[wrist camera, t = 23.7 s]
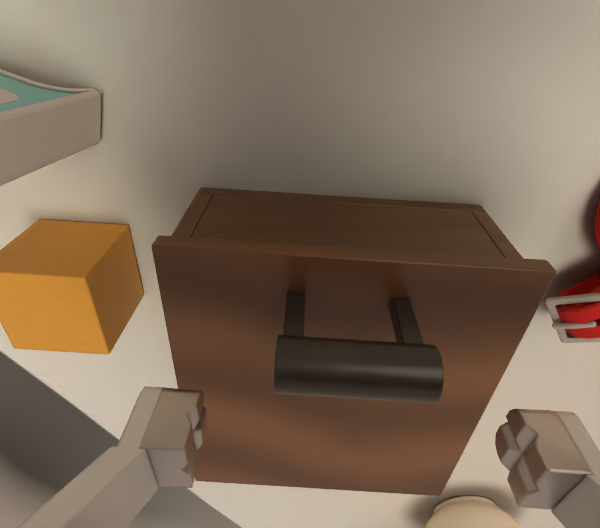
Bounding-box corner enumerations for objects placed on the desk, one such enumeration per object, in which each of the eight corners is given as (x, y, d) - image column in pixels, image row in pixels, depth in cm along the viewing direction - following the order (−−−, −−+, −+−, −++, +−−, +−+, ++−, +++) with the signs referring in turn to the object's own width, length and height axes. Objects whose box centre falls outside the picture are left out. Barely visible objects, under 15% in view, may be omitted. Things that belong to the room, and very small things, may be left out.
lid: (157, 234, 15) (94, 327, 10) (547, 258, 15) (638, 361, 10) (198, 468, 24) (173, 566, 20) (437, 482, 24) (462, 584, 20)
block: (38, 218, 22) (-27, 270, 17) (129, 224, 22) (84, 278, 17) (64, 289, 24) (13, 348, 20) (144, 294, 24) (109, 355, 20)
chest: (200, 187, 20) (160, 252, 15) (481, 204, 20) (538, 276, 15) (219, 383, 29) (198, 467, 24) (415, 395, 29) (436, 482, 24)
